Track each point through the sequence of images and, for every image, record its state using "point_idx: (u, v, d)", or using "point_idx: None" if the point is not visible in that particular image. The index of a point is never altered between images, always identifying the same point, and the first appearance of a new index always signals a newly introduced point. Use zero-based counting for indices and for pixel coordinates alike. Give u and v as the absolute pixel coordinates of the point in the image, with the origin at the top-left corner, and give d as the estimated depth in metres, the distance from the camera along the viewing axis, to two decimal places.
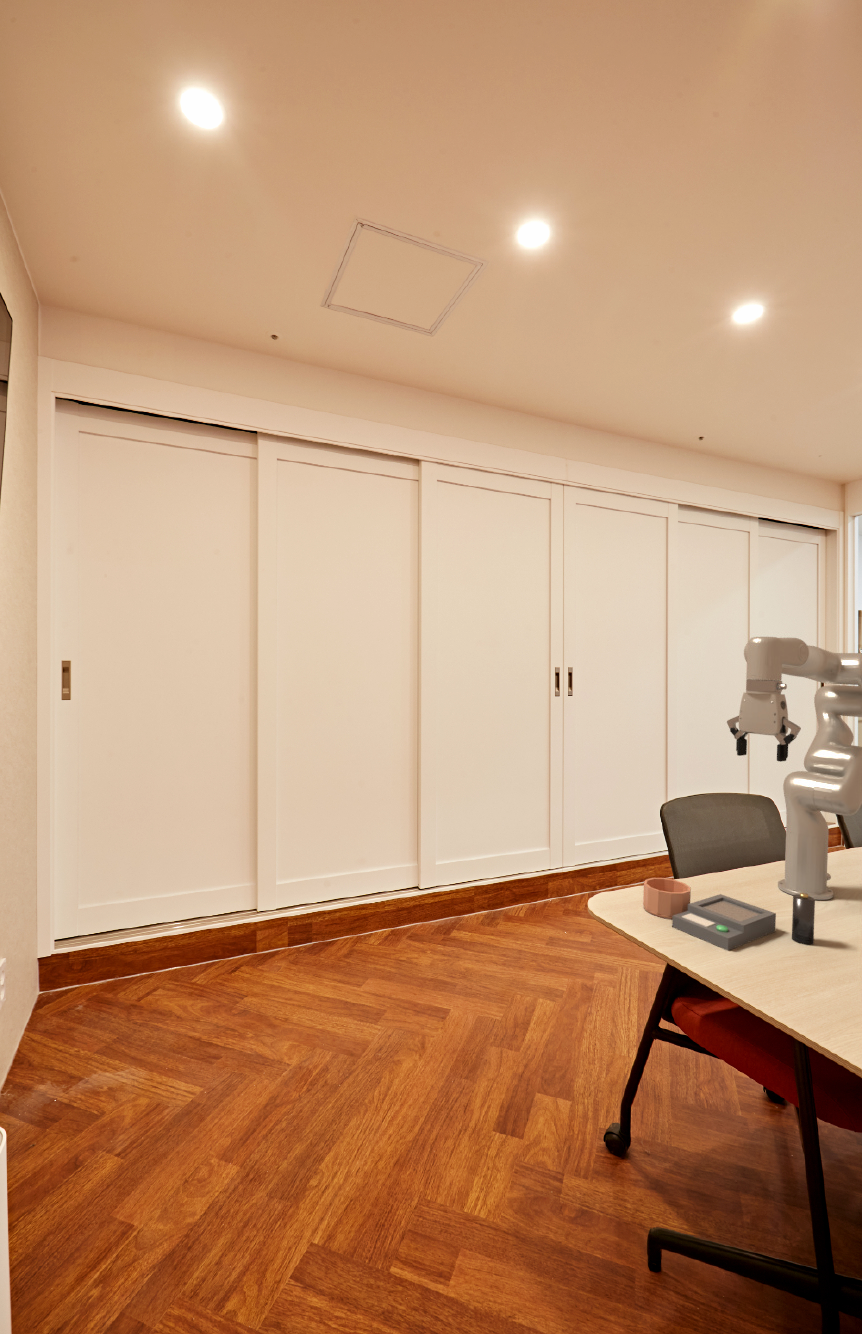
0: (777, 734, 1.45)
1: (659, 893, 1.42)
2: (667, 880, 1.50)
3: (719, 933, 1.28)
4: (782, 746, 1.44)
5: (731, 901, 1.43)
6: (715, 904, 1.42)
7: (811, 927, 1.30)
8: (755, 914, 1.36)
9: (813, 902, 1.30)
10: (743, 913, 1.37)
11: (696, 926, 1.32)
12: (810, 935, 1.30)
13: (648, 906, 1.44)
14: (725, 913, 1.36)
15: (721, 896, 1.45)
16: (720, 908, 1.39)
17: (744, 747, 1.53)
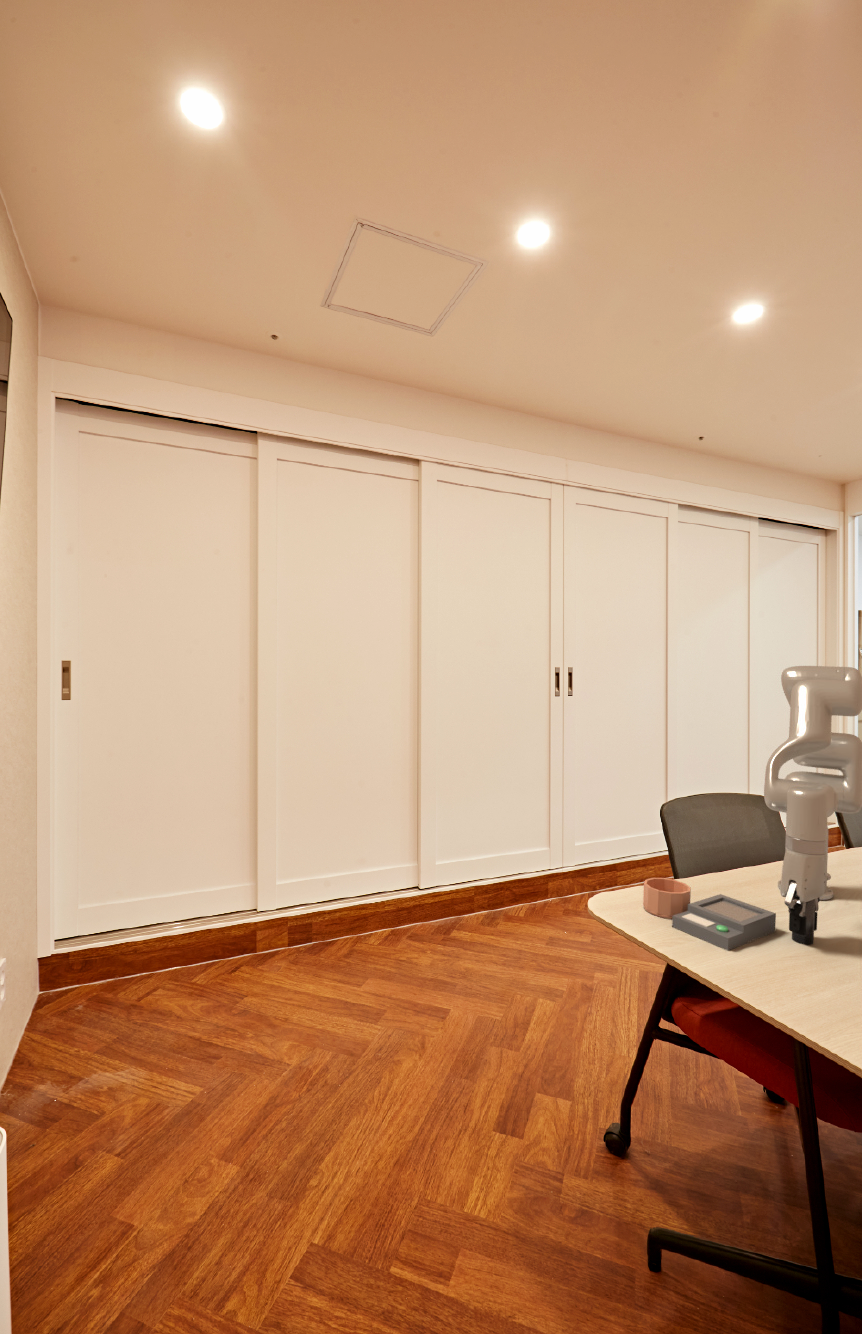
0: (818, 899, 1.32)
1: (659, 893, 1.42)
2: (667, 880, 1.50)
3: (719, 933, 1.28)
4: None
5: (731, 901, 1.43)
6: (715, 904, 1.42)
7: (811, 927, 1.30)
8: (755, 914, 1.36)
9: (813, 902, 1.30)
10: (743, 913, 1.37)
11: (696, 926, 1.32)
12: (810, 935, 1.30)
13: (648, 906, 1.44)
14: (725, 913, 1.36)
15: (721, 896, 1.45)
16: (720, 908, 1.39)
17: None
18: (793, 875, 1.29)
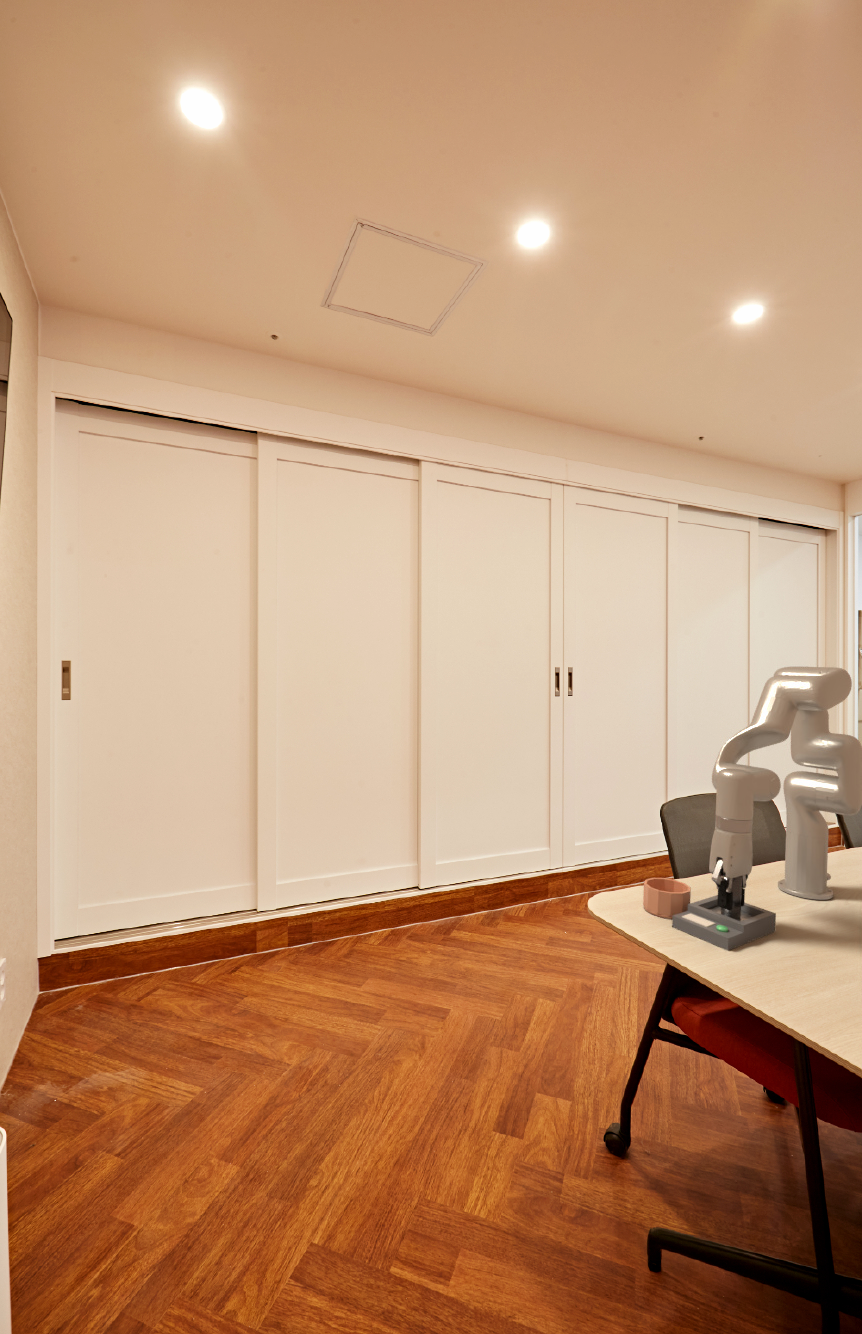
0: (745, 876, 1.38)
1: (659, 893, 1.42)
2: (667, 880, 1.50)
3: (719, 933, 1.28)
4: (742, 889, 1.39)
5: None
6: (715, 909, 1.42)
7: (738, 902, 1.36)
8: None
9: (740, 879, 1.36)
10: (743, 918, 1.37)
11: (696, 926, 1.32)
12: (736, 910, 1.36)
13: (648, 906, 1.44)
14: None
15: None
16: (720, 912, 1.39)
17: None
18: (720, 852, 1.35)
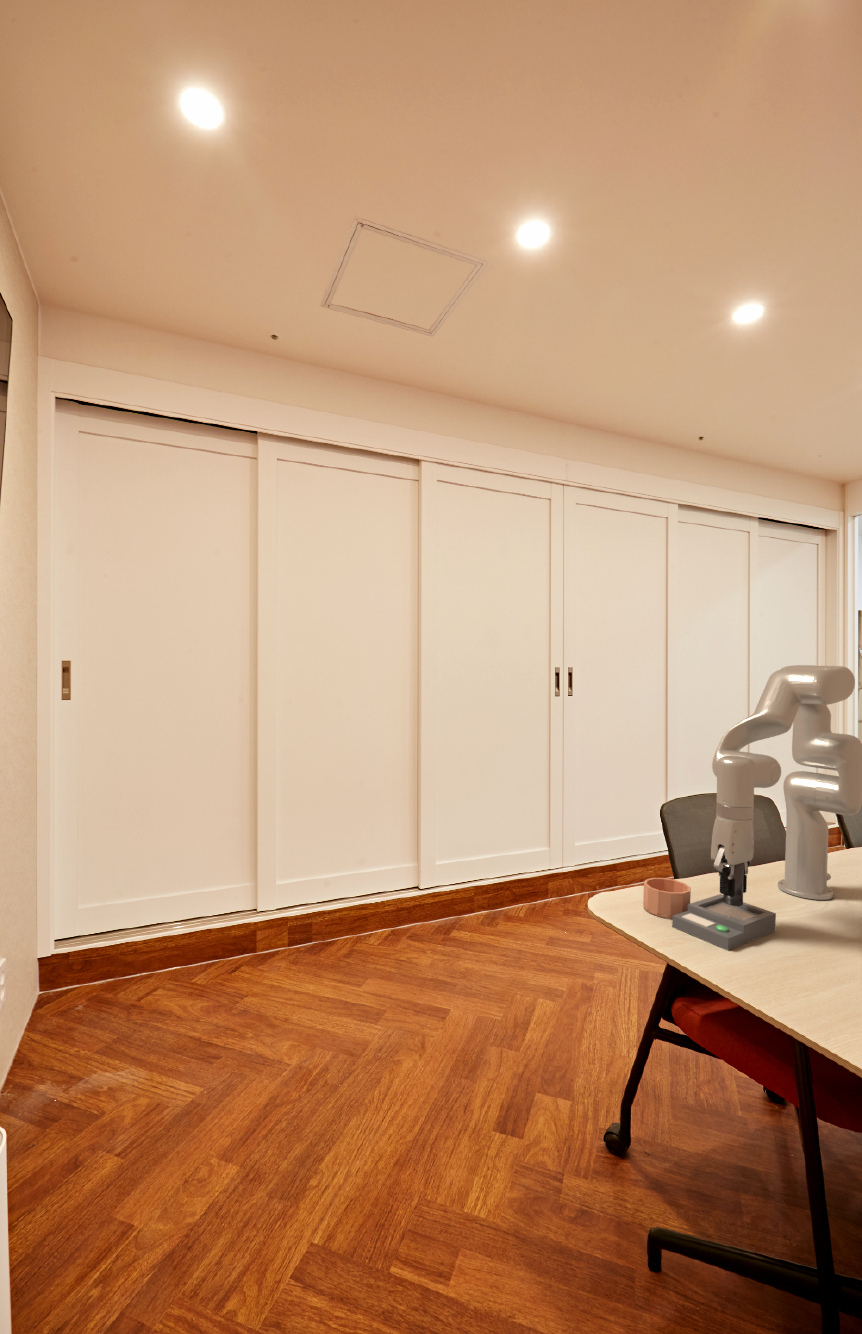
0: (747, 863, 1.39)
1: (659, 893, 1.42)
2: (667, 880, 1.50)
3: (719, 933, 1.28)
4: None
5: None
6: (715, 905, 1.42)
7: (740, 889, 1.36)
8: (755, 915, 1.36)
9: (742, 865, 1.36)
10: (743, 914, 1.37)
11: (696, 926, 1.32)
12: (739, 897, 1.36)
13: (648, 906, 1.44)
14: (725, 914, 1.36)
15: (721, 896, 1.45)
16: (720, 909, 1.39)
17: None
18: (721, 840, 1.35)
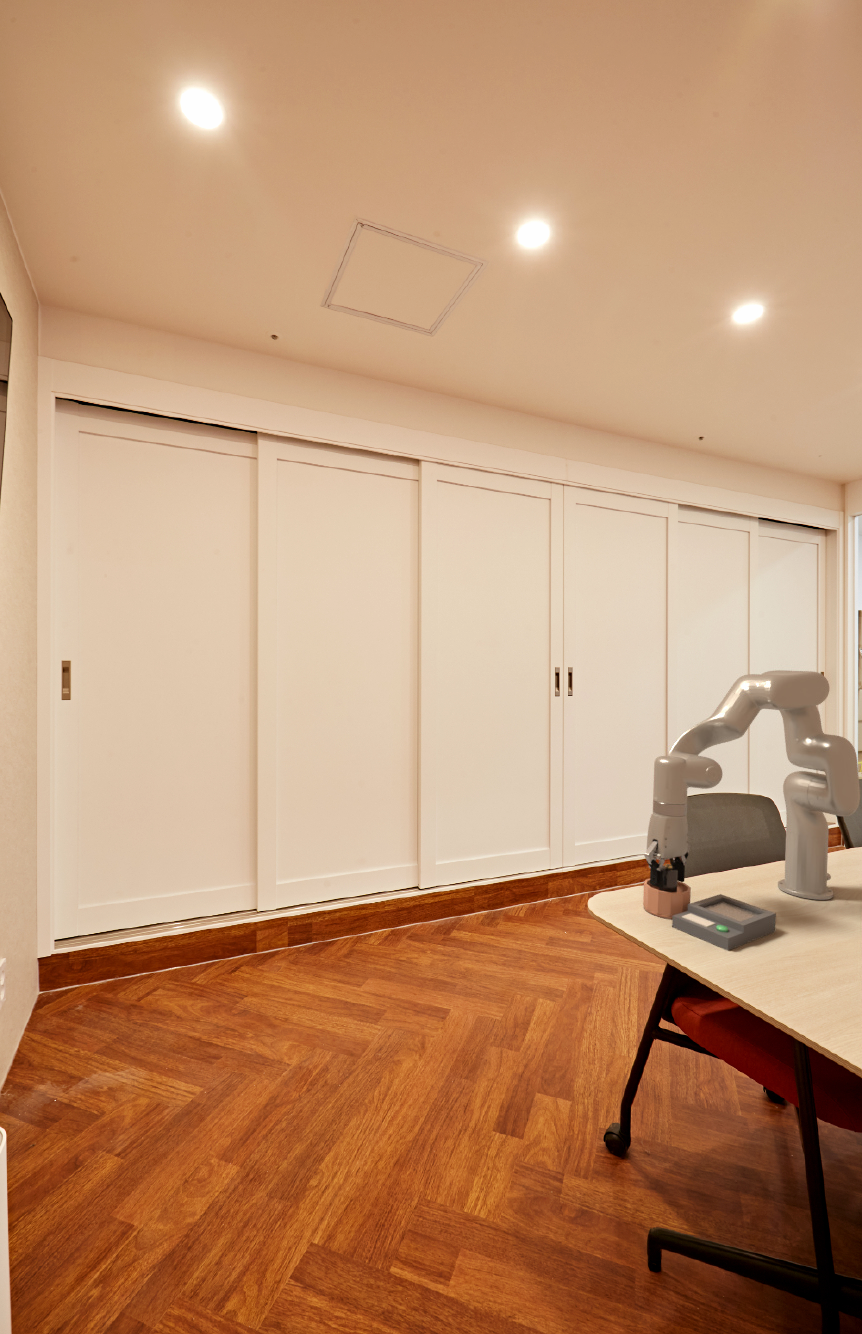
0: (684, 855, 1.47)
1: (659, 893, 1.42)
2: None
3: (719, 933, 1.28)
4: None
5: (731, 901, 1.43)
6: (715, 905, 1.42)
7: None
8: (755, 915, 1.36)
9: (675, 872, 1.44)
10: (743, 914, 1.37)
11: (696, 926, 1.32)
12: None
13: (648, 906, 1.44)
14: (725, 914, 1.36)
15: (721, 896, 1.45)
16: (720, 909, 1.39)
17: None
18: (656, 835, 1.43)
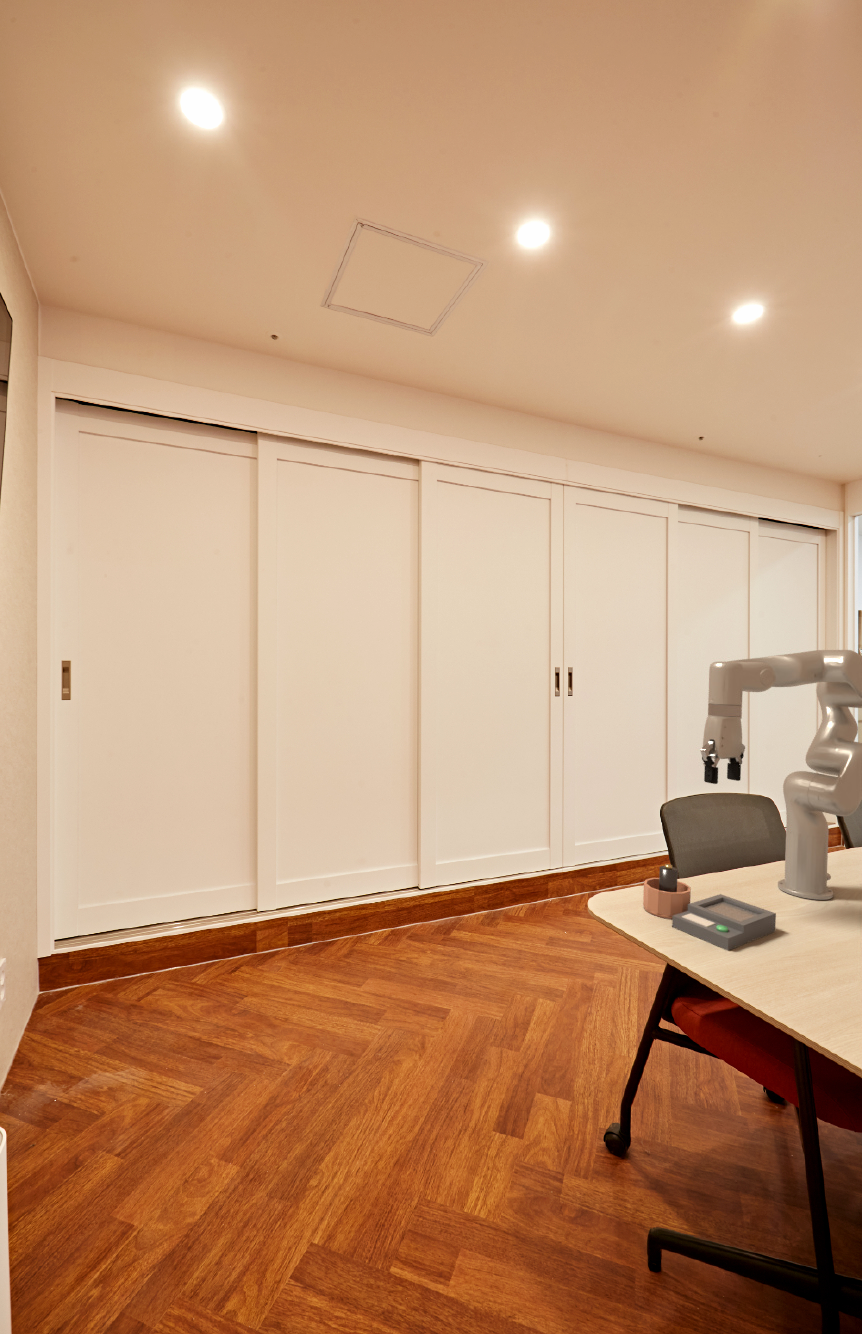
0: (739, 755, 1.52)
1: (659, 893, 1.42)
2: None
3: (719, 933, 1.28)
4: None
5: (731, 901, 1.43)
6: (715, 905, 1.42)
7: None
8: (755, 915, 1.36)
9: (675, 872, 1.44)
10: (743, 914, 1.37)
11: (696, 926, 1.32)
12: None
13: (648, 906, 1.44)
14: (725, 914, 1.36)
15: (721, 896, 1.45)
16: (720, 909, 1.39)
17: None
18: (712, 735, 1.48)
